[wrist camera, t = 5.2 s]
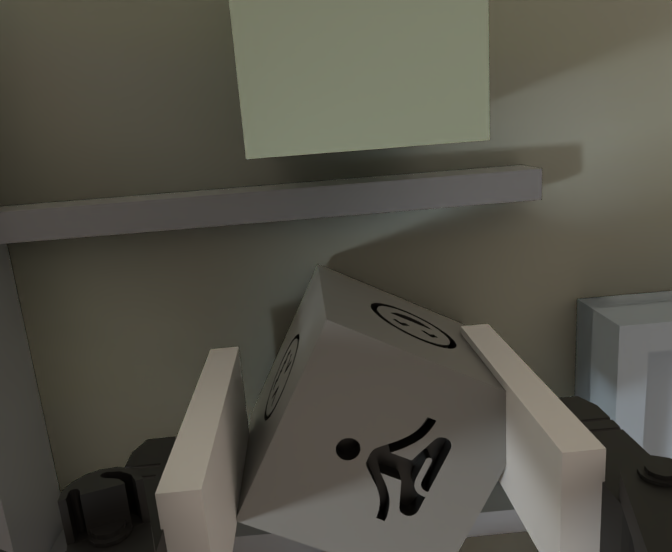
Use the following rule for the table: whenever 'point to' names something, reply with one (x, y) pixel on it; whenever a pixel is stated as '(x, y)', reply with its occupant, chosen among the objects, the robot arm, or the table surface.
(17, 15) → the table surface
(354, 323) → the dice cube
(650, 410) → the slate tray
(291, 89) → the sage block
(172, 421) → the table surface
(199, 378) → the robot arm
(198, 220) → the grey bar frame
